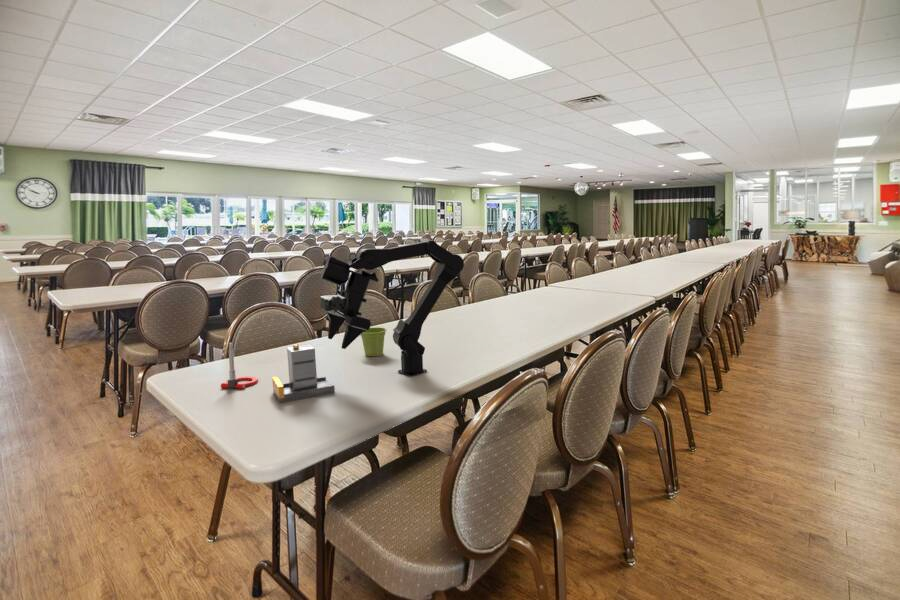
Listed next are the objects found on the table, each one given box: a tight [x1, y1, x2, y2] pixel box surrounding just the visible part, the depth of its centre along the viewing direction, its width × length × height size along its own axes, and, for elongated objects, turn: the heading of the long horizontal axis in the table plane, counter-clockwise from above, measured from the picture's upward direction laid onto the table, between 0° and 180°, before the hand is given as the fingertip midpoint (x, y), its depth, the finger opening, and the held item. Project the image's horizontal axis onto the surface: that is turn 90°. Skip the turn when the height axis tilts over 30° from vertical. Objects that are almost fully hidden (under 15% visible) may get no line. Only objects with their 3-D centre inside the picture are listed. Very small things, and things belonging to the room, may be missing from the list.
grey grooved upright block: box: [286, 343, 318, 392], centre depth 124 cm, size 6×6×12 cm
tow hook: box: [220, 342, 259, 390], centre depth 133 cm, size 8×13×9 cm
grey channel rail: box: [271, 375, 336, 404], centre depth 125 cm, size 14×9×4 cm
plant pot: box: [359, 326, 388, 357], centre depth 161 cm, size 9×9×9 cm
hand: (336, 343), depth 131 cm, fingers open, 9 cm apart
